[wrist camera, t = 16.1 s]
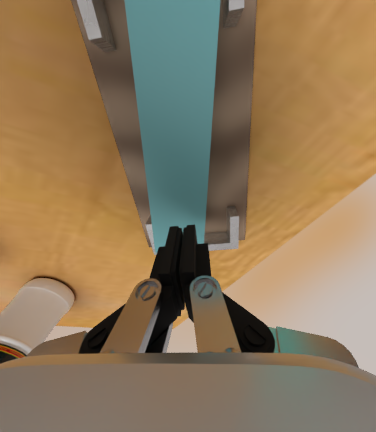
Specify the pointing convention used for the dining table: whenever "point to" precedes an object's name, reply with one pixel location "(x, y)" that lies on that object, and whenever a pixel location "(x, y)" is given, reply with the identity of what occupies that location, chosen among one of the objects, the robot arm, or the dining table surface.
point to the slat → (175, 105)
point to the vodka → (32, 316)
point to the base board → (221, 121)
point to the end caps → (102, 37)
